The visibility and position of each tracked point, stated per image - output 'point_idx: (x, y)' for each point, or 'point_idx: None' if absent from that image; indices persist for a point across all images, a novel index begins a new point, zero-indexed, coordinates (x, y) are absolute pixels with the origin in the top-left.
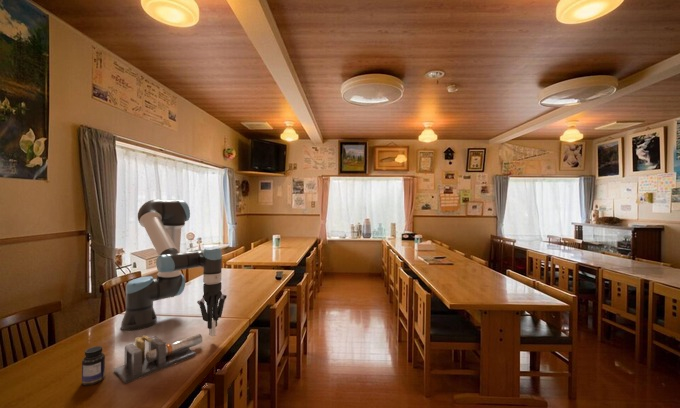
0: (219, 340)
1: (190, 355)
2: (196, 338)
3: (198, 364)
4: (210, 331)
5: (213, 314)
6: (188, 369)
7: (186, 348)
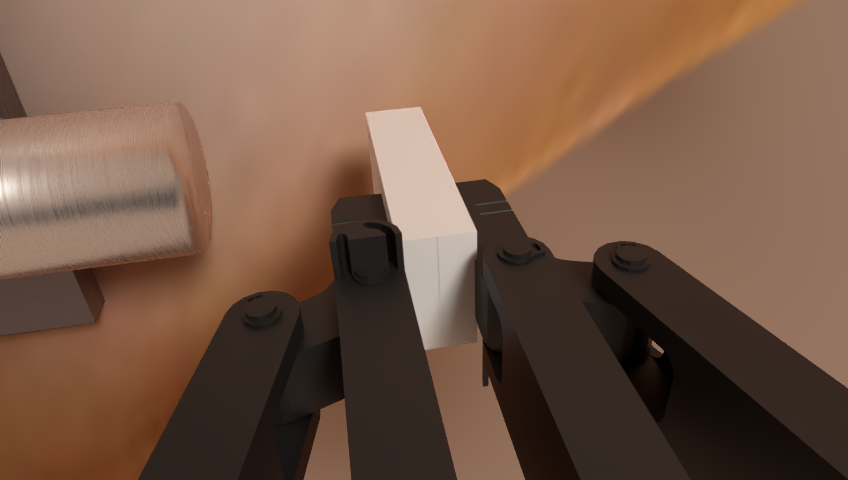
0: (471, 131)
1: (37, 322)
2: (106, 264)
3: (100, 449)
4: (375, 180)
5: (509, 365)
6: (3, 473)
7: None
